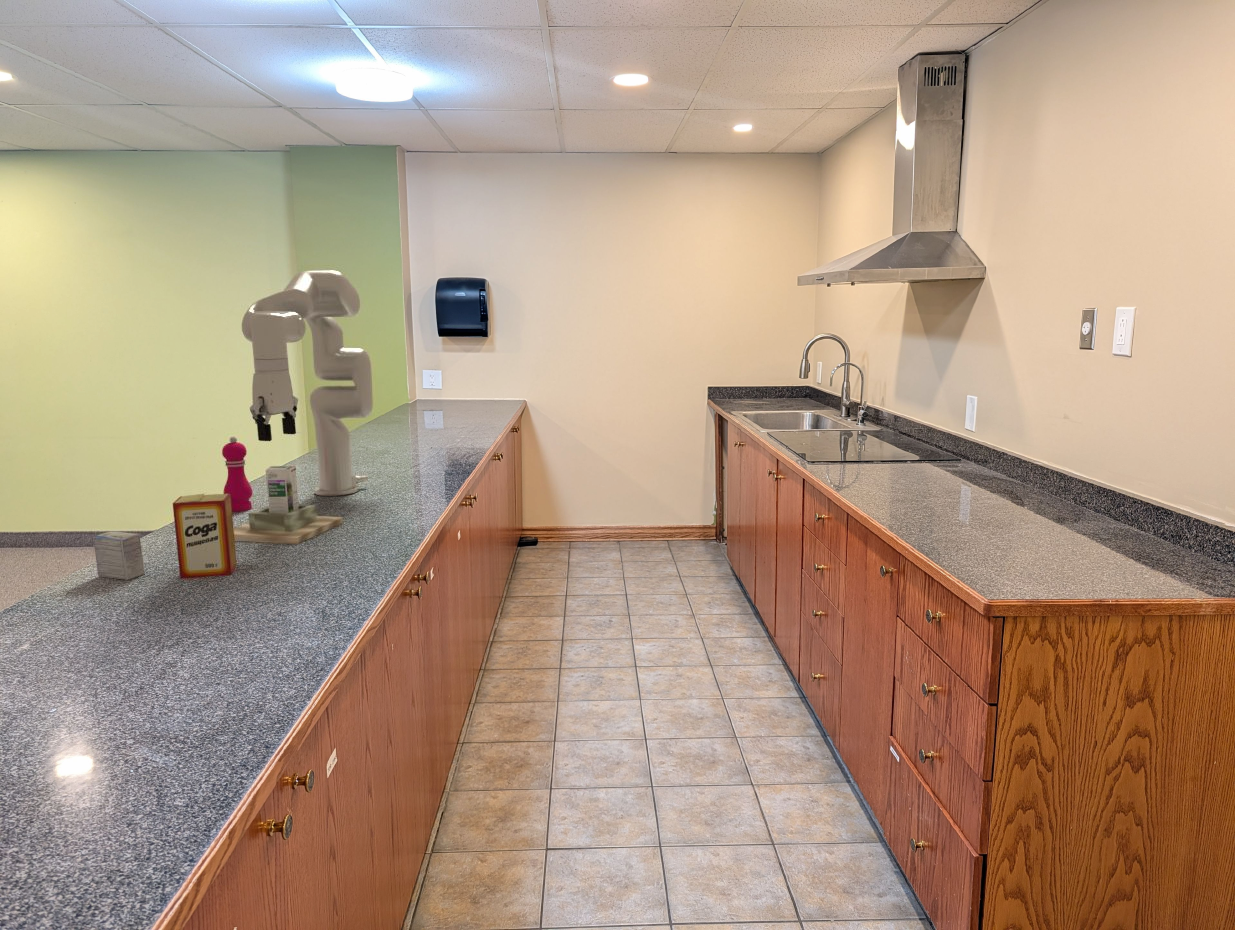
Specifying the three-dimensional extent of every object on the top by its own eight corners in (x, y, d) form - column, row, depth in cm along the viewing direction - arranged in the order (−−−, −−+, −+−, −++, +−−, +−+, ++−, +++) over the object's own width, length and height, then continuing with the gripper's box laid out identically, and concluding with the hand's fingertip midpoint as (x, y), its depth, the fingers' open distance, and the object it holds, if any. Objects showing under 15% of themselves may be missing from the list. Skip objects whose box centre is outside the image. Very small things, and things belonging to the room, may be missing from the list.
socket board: (273, 519, 216) (271, 498, 215) (342, 523, 212) (341, 501, 211) (221, 539, 197) (219, 516, 196) (297, 544, 193) (295, 521, 192)
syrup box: (269, 528, 202) (264, 469, 199) (276, 522, 207) (272, 464, 205) (293, 527, 202) (289, 468, 200) (300, 521, 208) (296, 464, 205)
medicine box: (145, 574, 171) (141, 533, 170) (126, 581, 167) (121, 539, 166) (116, 570, 174) (111, 530, 172) (97, 577, 170) (92, 535, 168)
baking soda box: (236, 565, 177) (230, 491, 174) (231, 574, 171) (224, 498, 168) (187, 569, 175) (180, 494, 172) (180, 578, 168) (172, 501, 165)
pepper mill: (258, 506, 231) (252, 434, 228) (244, 512, 224) (238, 438, 221) (234, 505, 232) (227, 434, 228) (219, 511, 225) (212, 438, 221)
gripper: (279, 362, 207) (285, 431, 210) (233, 369, 190) (240, 443, 194) (306, 363, 205) (311, 432, 209) (262, 369, 189) (269, 444, 192)
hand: (277, 437), depth 201 cm, fingers open, 9 cm apart
